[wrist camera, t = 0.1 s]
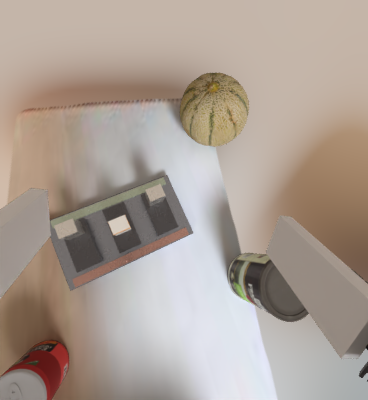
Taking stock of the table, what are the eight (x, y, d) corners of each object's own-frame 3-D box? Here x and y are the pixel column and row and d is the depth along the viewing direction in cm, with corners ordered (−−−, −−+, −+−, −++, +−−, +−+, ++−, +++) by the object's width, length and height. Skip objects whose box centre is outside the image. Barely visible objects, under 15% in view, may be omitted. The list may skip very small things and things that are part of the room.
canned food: (59, 329, 41) (30, 358, 31) (78, 370, 40) (55, 414, 30) (16, 356, 39) (-31, 396, 29) (35, 398, 39) (-6, 456, 28)
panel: (191, 233, 49) (202, 230, 41) (72, 289, 43) (55, 300, 34) (166, 177, 51) (171, 163, 42) (48, 223, 44) (24, 217, 36)
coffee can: (248, 311, 48) (289, 337, 34) (218, 273, 49) (247, 283, 35) (279, 279, 51) (329, 291, 37) (250, 243, 51) (289, 242, 38)
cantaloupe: (241, 146, 56) (276, 111, 42) (189, 164, 52) (206, 133, 38) (218, 96, 58) (243, 46, 43) (166, 109, 54) (174, 60, 40)
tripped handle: (131, 229, 43) (130, 227, 38) (116, 236, 42) (112, 234, 38) (126, 217, 43) (124, 214, 39) (111, 224, 42) (107, 221, 38)
